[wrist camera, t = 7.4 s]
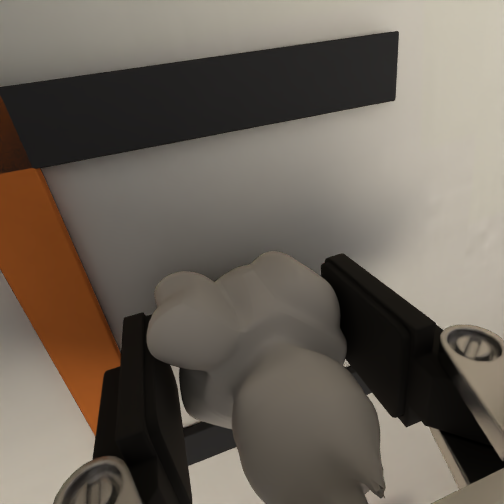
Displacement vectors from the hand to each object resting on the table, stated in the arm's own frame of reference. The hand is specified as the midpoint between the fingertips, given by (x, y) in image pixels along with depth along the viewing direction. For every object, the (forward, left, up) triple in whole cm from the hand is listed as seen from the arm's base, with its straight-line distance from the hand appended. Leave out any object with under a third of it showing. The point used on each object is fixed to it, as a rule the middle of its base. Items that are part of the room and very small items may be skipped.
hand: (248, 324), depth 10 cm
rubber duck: (0, 0, -2) cm, 2 cm away
